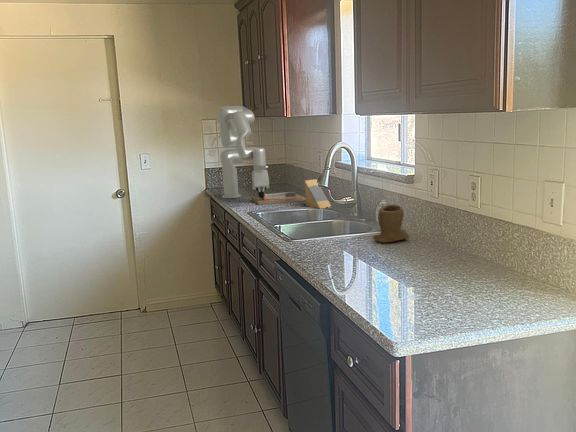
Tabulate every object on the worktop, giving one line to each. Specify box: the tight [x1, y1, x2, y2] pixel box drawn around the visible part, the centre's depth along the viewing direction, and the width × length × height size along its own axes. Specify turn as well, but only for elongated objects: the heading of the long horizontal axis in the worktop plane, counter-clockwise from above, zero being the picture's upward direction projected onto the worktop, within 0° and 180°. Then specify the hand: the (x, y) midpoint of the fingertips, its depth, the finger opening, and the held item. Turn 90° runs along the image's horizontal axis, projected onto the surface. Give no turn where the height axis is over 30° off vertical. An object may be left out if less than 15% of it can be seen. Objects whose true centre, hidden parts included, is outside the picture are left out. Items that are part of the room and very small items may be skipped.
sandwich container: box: [304, 178, 332, 209], centre depth 331 cm, size 9×15×15 cm, turn 31°
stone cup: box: [372, 204, 410, 243], centre depth 236 cm, size 15×12×15 cm
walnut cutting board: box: [251, 193, 306, 206], centre depth 360 cm, size 19×30×2 cm, turn 106°
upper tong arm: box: [264, 191, 297, 196], centre depth 360 cm, size 20×4×2 cm, turn 106°
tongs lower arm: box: [258, 194, 296, 200], centre depth 360 cm, size 23×4×1 cm, turn 106°
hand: (261, 198), depth 354 cm, fingers closed
